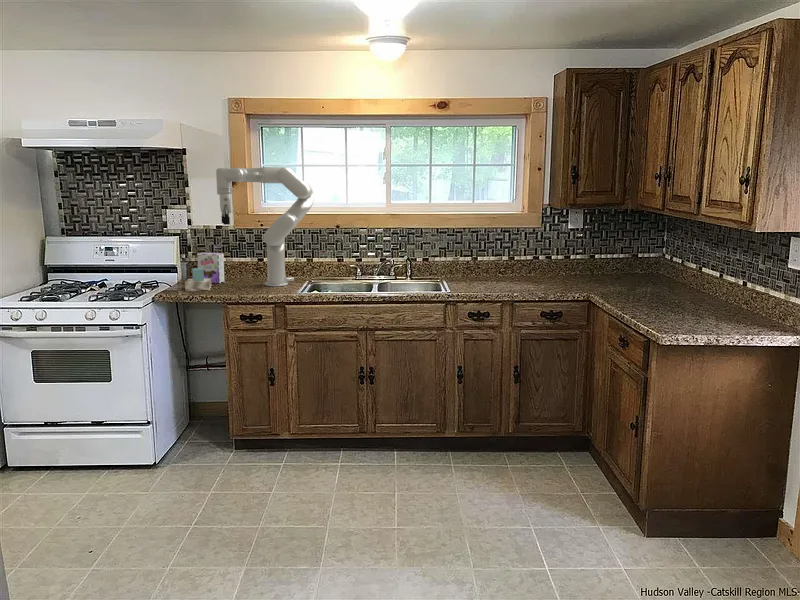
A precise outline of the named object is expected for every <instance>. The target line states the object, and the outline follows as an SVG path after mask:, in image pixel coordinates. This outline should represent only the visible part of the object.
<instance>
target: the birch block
mask: <svg viewBox="0 0 800 600" xmlns="http://www.w3.org/2000/svg"><path fill="white" fill-rule="evenodd" d="M211 286H212V283H211V278H204V281H193V278H187V279H186V280H185V282H184V289H185V290H184V291H185V292H202V291H201V290H209V291H210V290H211V289H212V287H211ZM210 288H211V289H210Z"/></svg>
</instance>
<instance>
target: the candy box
mask: <svg viewBox="0 0 800 600" xmlns="http://www.w3.org/2000/svg"><path fill="white" fill-rule="evenodd" d="M224 257H225V256H224V253H218V252H217V253H216V252H198V253H197V254H196V260H197V261H196V262H197V264H196V266H197V268H202V269H203V271H204V278H211V284H216V283H220V284H222V283H221V282H224V283H225V262H224V261H225V258H224Z"/></svg>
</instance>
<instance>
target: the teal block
mask: <svg viewBox="0 0 800 600" xmlns="http://www.w3.org/2000/svg"><path fill="white" fill-rule="evenodd" d="M191 272H192V279H193V281H204V271H203V269H202V268H198V267H197V268H191Z"/></svg>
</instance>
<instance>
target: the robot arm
mask: <svg viewBox="0 0 800 600" xmlns="http://www.w3.org/2000/svg"><path fill="white" fill-rule="evenodd" d="M215 175H216V194H217V195H219V208H220V209H219V210H220V213H221V215H220V217H221V224H223V225H230V224H231V222H230V221H231V220H230V219H231V218H230V214H231V213H232V205H231V203H232V202H231V195H232V182H234V183H261V184H282V185H283V186H284V187H285V188H286V189H287V190H288V191H289V192H290V193H292V194H293V195H294V196H295V197H296V198H297V199H296V200H295V202H294V203H293V204H291V206H290V207H289V208H288V209H287V211H286V212H284V213H282V214H280V216H278V217H277V219H275V221H273V223H272V224H271V225H270V226H269V228H268V229H266V231H265V232H264V233H263V234H264V235H263V240H264V242H265V244H266V261H267V262H266V265H267V281H266V282H264V285H265V286H266V287H283V286H284V287H285V286H288V285H289V282H294V281H295V277H287V276H286V260H285V259H286V256H285V255H286V254H285V252H286V251H285V249H286V248H285V246H286V244H285V243H286V237H287V236H288V235H289V234H290V233H291V232H292V231H293V230H294V229H295V228H296V227H297V225H298V224H299V223H300V222H301V221H302V219H303V218H304V217H305V216H306V215H307V214H308V212H309V211H310V210H311V209H312V206H313V205H314V204H313V203H314V199H315V195H314V191H313V188H312V187H311V185H310V184H309V183H307V182H305V181H303V180H302V179H301V178H300V177H299V176H298V175H297V174H296V173H295V171H294V170H293V168H291V167H289V166H286V167H285V166H284V167H282V166H281V167H279V166H276V167H275V166H261V167H256V168H255V167H233V168H231V167H230V168H229V167H218V168H217V169H216V171H215Z"/></svg>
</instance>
